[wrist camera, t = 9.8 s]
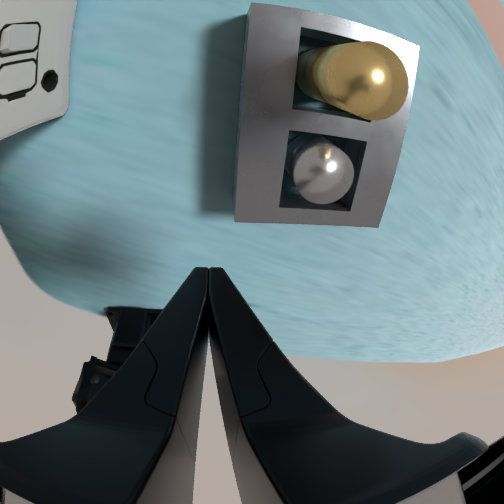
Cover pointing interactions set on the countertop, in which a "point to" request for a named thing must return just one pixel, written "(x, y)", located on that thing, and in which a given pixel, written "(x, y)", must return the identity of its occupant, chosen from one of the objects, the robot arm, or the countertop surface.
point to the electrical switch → (34, 62)
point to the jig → (308, 123)
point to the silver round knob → (318, 168)
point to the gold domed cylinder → (355, 78)
